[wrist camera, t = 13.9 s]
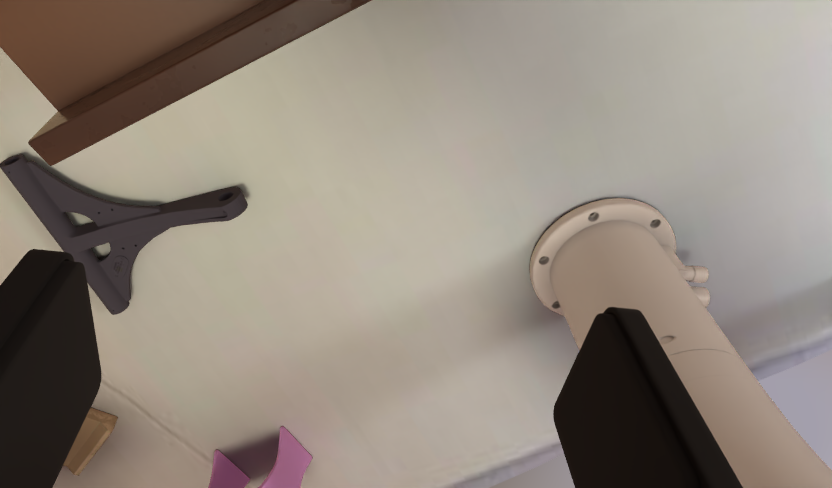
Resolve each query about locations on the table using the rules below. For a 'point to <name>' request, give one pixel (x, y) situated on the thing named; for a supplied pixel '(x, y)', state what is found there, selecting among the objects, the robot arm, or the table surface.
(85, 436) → the banker's lamp
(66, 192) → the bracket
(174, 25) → the shelf
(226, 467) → the toy chair
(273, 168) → the table surface
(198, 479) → the table surface
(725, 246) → the table surface
